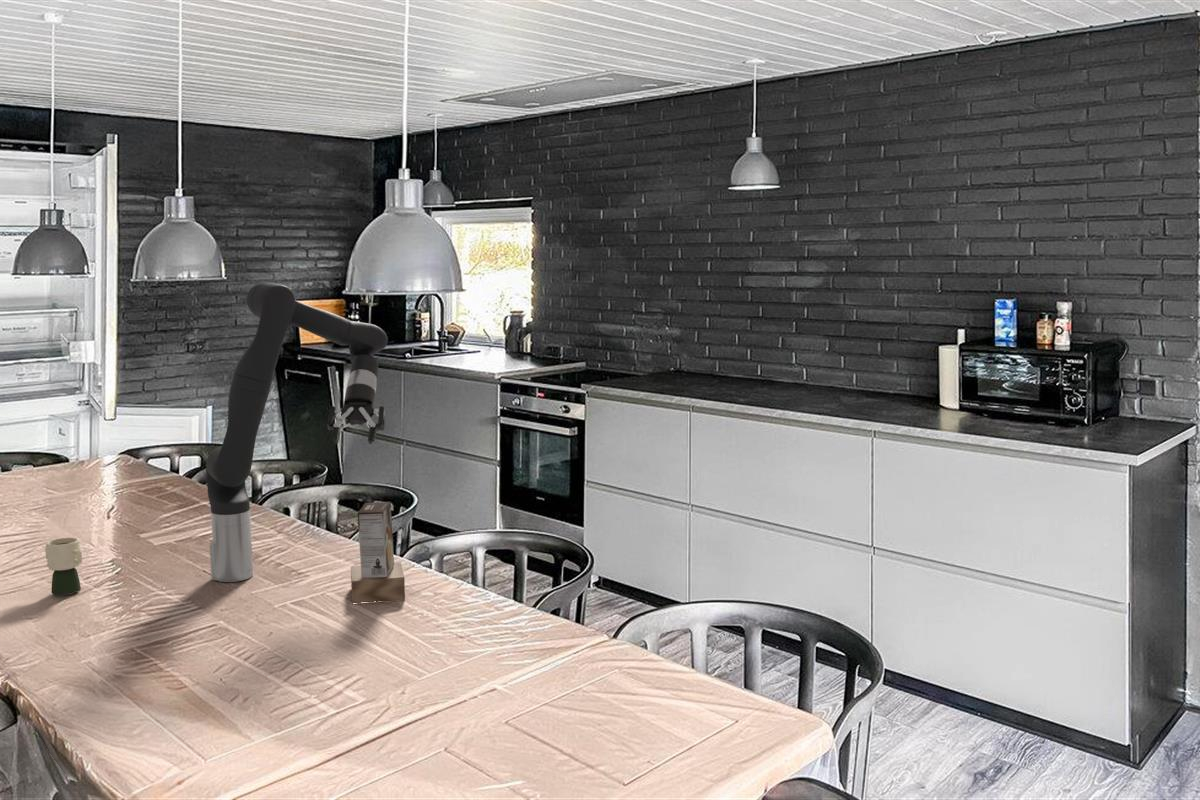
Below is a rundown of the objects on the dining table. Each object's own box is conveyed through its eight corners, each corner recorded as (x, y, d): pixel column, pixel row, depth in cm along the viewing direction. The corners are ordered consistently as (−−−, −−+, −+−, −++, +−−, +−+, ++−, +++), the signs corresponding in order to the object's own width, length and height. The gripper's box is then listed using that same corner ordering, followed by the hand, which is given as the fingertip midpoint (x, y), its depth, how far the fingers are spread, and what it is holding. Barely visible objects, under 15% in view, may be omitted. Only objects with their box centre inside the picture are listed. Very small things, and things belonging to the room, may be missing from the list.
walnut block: (352, 606, 243) (351, 581, 242) (351, 589, 254) (350, 566, 253) (405, 601, 246) (404, 577, 245) (401, 585, 257) (400, 562, 256)
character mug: (95, 591, 251) (92, 539, 249) (71, 600, 245) (67, 547, 243) (61, 586, 255) (57, 535, 253) (36, 595, 248) (32, 542, 247)
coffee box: (368, 566, 253) (364, 502, 250) (394, 565, 253) (391, 501, 251) (360, 578, 244) (356, 512, 241) (388, 577, 244) (384, 511, 241)
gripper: (330, 382, 269) (321, 433, 260) (386, 382, 270) (379, 433, 260) (336, 399, 275) (327, 450, 266) (390, 399, 276) (383, 450, 266)
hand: (353, 442), depth 263 cm, fingers open, 8 cm apart
